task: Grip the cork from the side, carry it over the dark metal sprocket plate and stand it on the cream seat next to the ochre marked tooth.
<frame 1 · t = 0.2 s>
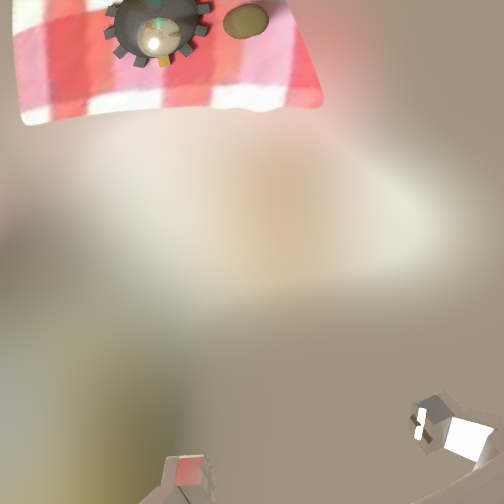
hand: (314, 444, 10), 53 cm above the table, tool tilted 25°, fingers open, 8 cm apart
cork: (241, 23, 43), on the table
sprocket plate: (156, 19, 40), on the table
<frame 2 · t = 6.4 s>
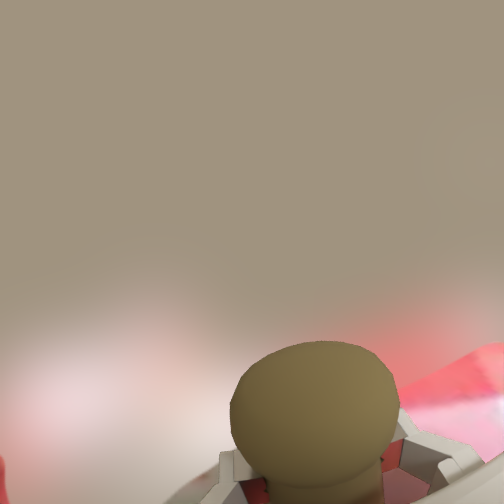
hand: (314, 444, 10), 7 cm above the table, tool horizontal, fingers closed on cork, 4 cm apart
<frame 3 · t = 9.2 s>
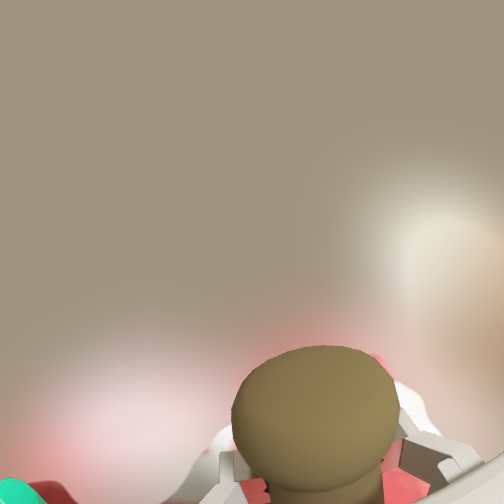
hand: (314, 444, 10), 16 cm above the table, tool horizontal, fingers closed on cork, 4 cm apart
when the fingers open (8 cm above the table, at t = 12.0 s): cork moves 1 cm, resting on sprocket plate.
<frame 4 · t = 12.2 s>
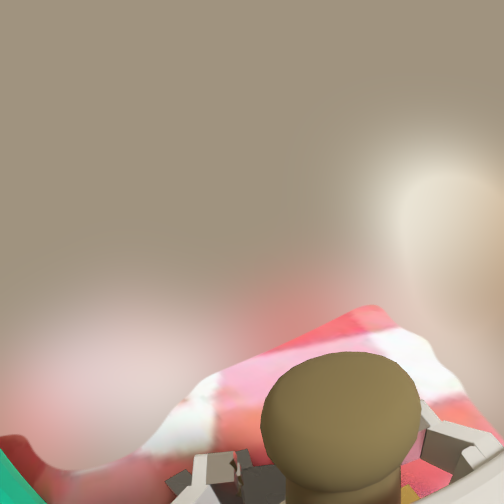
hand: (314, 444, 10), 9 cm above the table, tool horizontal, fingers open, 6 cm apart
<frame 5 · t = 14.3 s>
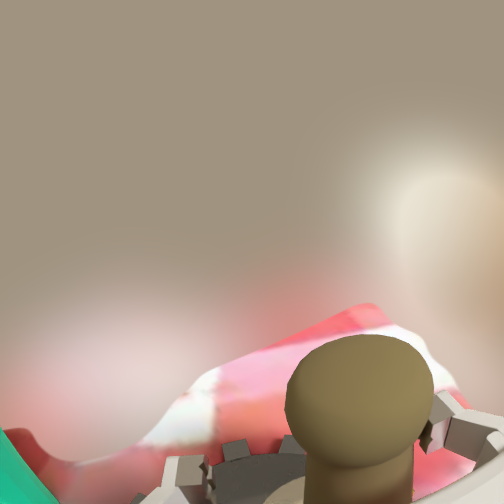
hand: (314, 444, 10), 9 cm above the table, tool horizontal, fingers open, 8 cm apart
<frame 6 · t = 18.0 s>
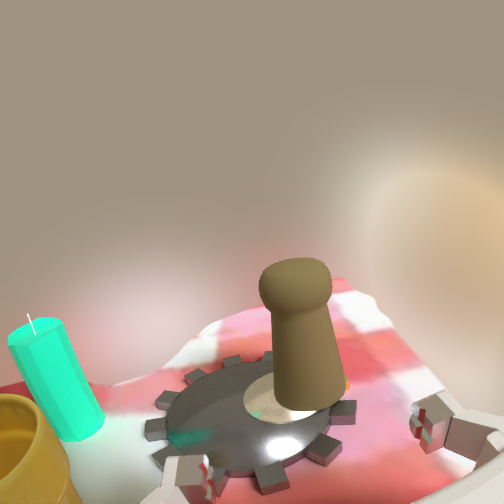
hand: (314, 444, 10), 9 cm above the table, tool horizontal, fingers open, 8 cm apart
cork: (310, 390, 24), point 1 cm above the table, touching sprocket plate
candle: (79, 424, 24), on the table
sprocket plate: (249, 414, 24), on the table
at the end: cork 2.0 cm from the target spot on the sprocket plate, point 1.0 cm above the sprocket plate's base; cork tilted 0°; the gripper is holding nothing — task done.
